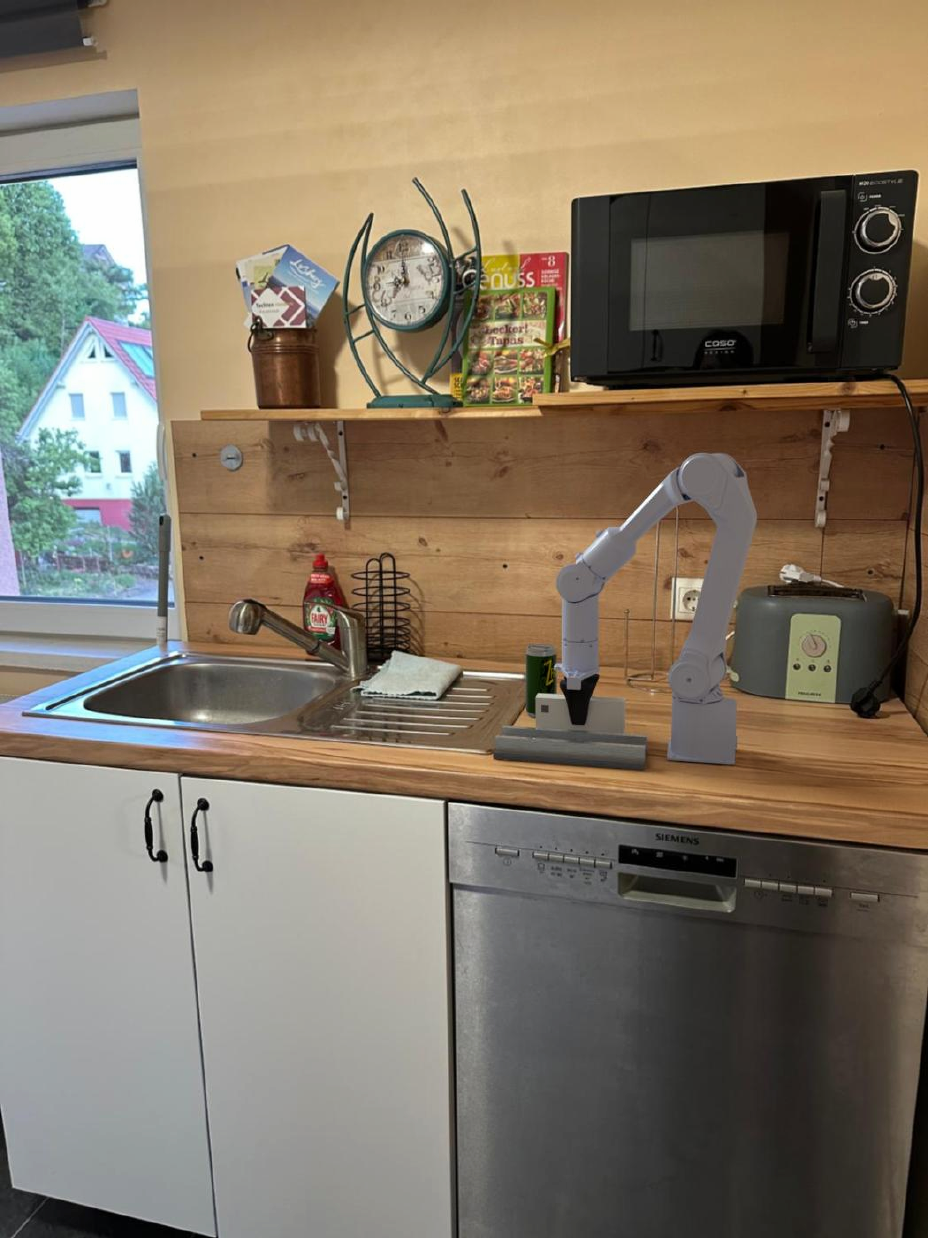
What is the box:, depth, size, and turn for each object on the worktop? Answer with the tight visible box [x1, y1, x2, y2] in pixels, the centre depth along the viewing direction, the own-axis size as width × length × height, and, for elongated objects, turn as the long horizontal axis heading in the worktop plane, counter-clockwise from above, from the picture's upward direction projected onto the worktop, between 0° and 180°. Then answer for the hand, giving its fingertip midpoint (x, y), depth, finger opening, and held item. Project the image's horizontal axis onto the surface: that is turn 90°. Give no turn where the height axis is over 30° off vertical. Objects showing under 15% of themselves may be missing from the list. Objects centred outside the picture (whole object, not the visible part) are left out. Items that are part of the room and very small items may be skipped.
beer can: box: [525, 643, 558, 719], centre depth 144 cm, size 5×5×12 cm
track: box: [492, 724, 648, 771], centre depth 125 cm, size 22×8×3 cm, turn 75°
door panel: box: [535, 693, 626, 734], centre depth 133 cm, size 14×2×6 cm, turn 75°
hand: (579, 721), depth 133 cm, fingers closed on door panel, 2 cm apart
